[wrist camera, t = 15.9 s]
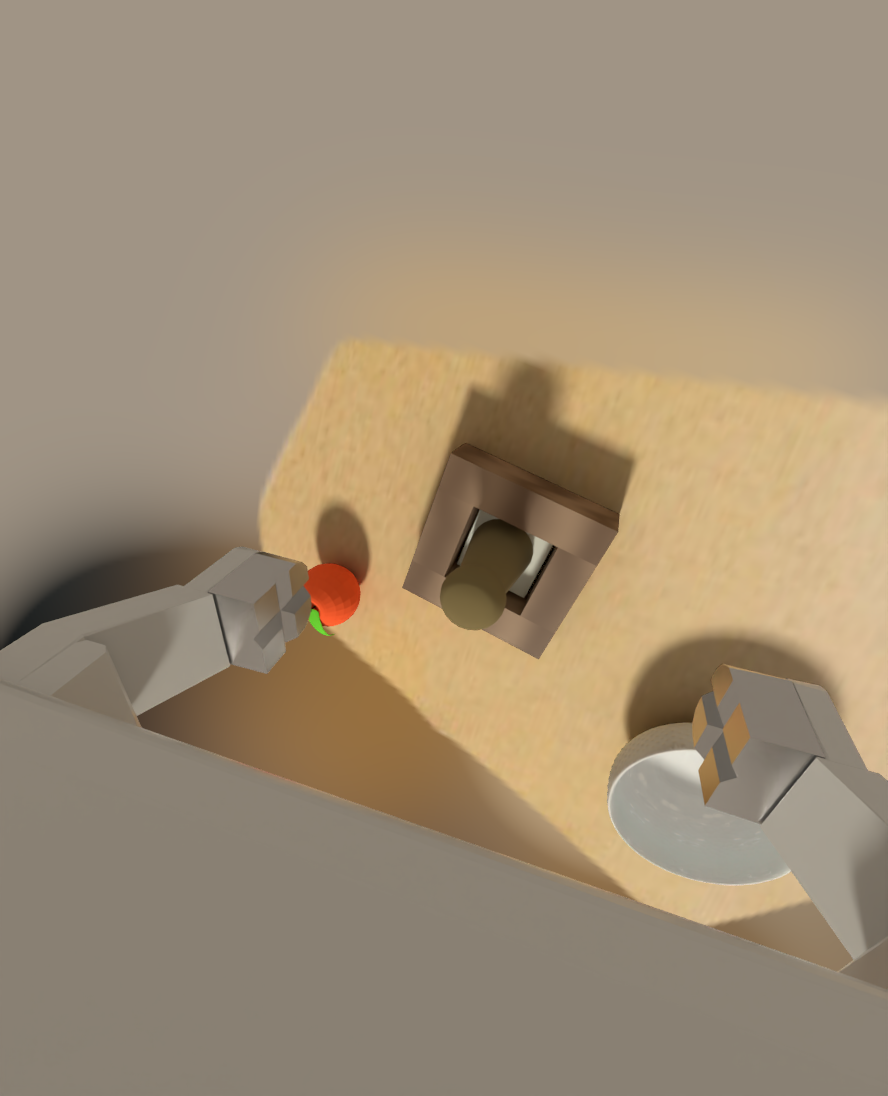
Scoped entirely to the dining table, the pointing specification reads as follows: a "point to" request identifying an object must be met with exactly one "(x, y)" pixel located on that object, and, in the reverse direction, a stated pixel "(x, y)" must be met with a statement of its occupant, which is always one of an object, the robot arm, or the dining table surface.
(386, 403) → the dining table surface
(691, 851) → the cereal bowl
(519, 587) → the cream square tile
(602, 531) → the socket block
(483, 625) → the olive pepper mill
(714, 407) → the dining table surface
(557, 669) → the dining table surface
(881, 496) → the dining table surface
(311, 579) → the clementine
